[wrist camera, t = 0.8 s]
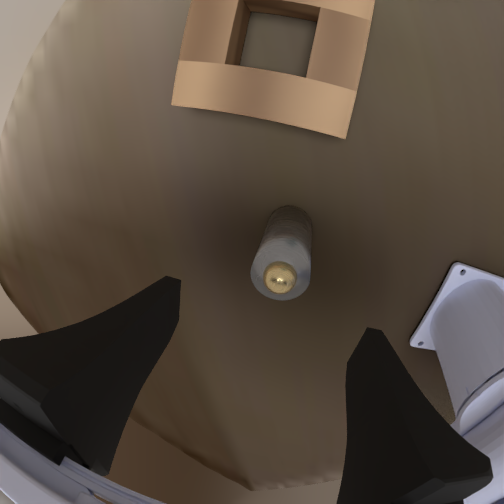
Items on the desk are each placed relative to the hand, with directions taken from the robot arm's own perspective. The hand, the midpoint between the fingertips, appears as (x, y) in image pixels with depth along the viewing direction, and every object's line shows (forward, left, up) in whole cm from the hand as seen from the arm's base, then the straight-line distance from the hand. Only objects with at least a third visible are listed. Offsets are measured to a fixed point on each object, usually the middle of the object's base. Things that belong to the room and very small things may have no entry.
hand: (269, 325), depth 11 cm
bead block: (+3, -11, -10) cm, 15 cm away
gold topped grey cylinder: (0, 0, -10) cm, 10 cm away
